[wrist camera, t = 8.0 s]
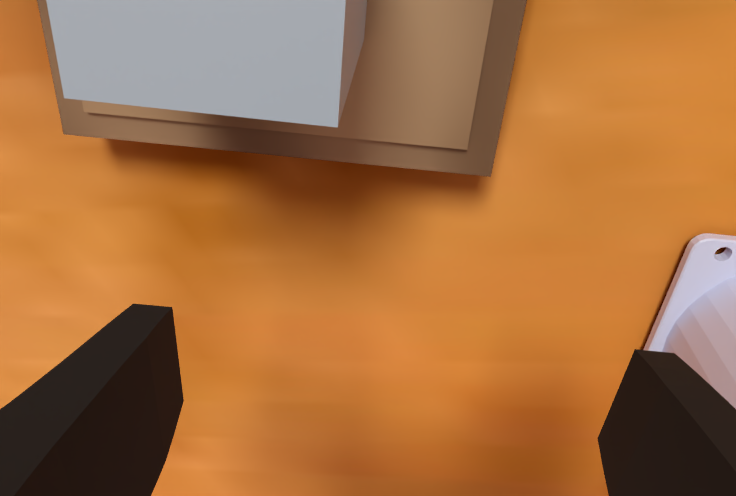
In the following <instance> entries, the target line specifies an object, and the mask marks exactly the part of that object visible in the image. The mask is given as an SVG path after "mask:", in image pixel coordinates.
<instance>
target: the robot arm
mask: <svg viewBox="0 0 736 496" xmlns="http://www.w3.org/2000/svg"><path fill="white" fill-rule="evenodd" d="M722 247H726V249H725V250H724V252H722V253H720V254H715V252H716V251H717V250H718V249H720V248H722ZM183 401H184V400H183V392H182V384H181V376H180V368H179V359H178V351H177V343H176V335H175V326H174V318H173V310H172V307H164V306H153V305H142V304H132V305H131V306H130V307H128V308H127V309H126V310H125V311H123V312H122V313H121V314H120V315H118V316H117V317H116V318H115V319H113V320H112V321H111V322H110V323H108V324H107V325H106V326H105V327H104V328H102V329H101V330H100V331H99V332H97V333H96V334H95V335H94V336H93V337H91V338H90V339H89V340H88V341H86V342H85V343H84V344H83V345H82V346H80V347H79V348H78V349H77V350H75V351H74V352H73V353H72V354H71V355H69V356H68V357H67V358H66V359H64V360H63V361H62V362H61V363H59V364H58V365H57V366H56V367H54V368H53V369H52V370H51V371H49V372H48V373H47V374H46V375H44V376H43V377H42V378H40V379H39V380H38V381H37V382H35V383H34V384H33V385H32V386H30V387H29V388H28V389H26V390H25V391H24V392H23V393H21V394H20V395H19V396H18V397H16V398H15V399H14V400H12V401H11V402H10V403H8V404H7V405H6V406H4V407H3V408H1V409H0V496H151V494H152V492H153V490H154V487H155V485H156V483H157V480H158V478H159V476H160V473H161V471H162V468H163V466H164V464H165V461H166V458H167V455H168V452H169V449H170V445H171V442H172V439H173V436H174V432H175V429H176V425H177V422H178V418H179V415H180V411H181V408H182V404H183ZM598 442H599V448H600V453H601V459H602V464H603V470H604V475H605V479H606V484H607V489H608V493H609V496H736V236H729V235H719V234H709V233H708V234H701V235H698V236H696V237H694V238H693V239H692V240H691V241H690V242H689V244H688V245H687V247H686V250H685V252H684V254H683V257H682V259H681V262H680V264H679V266H678V269H677V271H676V273H675V276H674V278H673V281H672V283H671V285H670V288H669V290H668V292H667V295H666V297H665V299H664V302H663V304H662V307H661V309H660V311H659V314H658V316H657V318H656V321H655V323H654V326H653V328H652V330H651V333H650V335H649V337H648V340H647V342H646V345H645V347H644V349H643V350H636V349H635V351H634V353H633V355H632V358H631V360H630V363H629V365H628V367H627V370H626V372H625V375H624V377H623V379H622V382H621V384H620V386H619V389H618V391H617V394H616V396H615V398H614V401H613V403H612V406H611V408H610V410H609V413H608V415H607V418H606V420H605V422H604V425H603V427H602V429H601V432H600V434H599V437H598Z"/></svg>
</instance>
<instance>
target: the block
mask: <svg viewBox="0 0 736 496" xmlns="http://www.w3.org/2000/svg"><path fill="white" fill-rule="evenodd" d="M46 2H47V7H48V13H49V18H50V24H51V29H52V35H53V40H54V45H55V51H56V56H57V62H58V67H59V73H60V78H61V84H62V89H63V95H64V98H67V99H76V100H86V101H95V102H104V103H114V104H123V105H132V106H141V107H151V108H160V109H169V110H179V111H188V112H197V113H207V114H216V115H225V116H235V117H244V118H253V119H263V120H272V121H281V122H291V123H300V124H309V125H319V126H328V127H337V128H338V125H339V122H340V118H341V115H342V112H343V108H344V105H345V101H346V98H347V95H348V91H349V88H350V85H351V81H352V78H353V75H354V71H355V68H356V65H357V61H358V58H359V55H360V51H361V48H362V45H363V41H364V33H365V21H366V8H367V0H46Z"/></svg>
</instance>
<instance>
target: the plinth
mask: <svg viewBox="0 0 736 496" xmlns="http://www.w3.org/2000/svg"><path fill="white" fill-rule="evenodd" d="M526 1H527V0H367V8H366V21H365V33H364V41H363V45H362V48H361V51H360V55H359V58H358V61H357V65H356V68H355V71H354V75H353V78H352V81H351V85H350V88H349V91H348V95H347V98H346V101H345V105H344V108H343V112H342V115H341V118H340V122H339V125H338V128H337V127H328V126H319V125H309V124H300V123H291V122H281V121H272V120H263V119H253V118H244V117H235V116H225V115H216V114H207V113H197V112H188V111H179V110H169V109H160V108H151V107H141V106H132V105H123V104H114V103H104V102H95V101H86V100H76V99H67V98H64V95H63V89H62V84H61V78H60V73H59V67H58V62H57V56H56V51H55V45H54V40H53V35H52V29H51V24H50V18H49V13H48V7H47V2H46V0H37V2H38V7H39V12H40V17H41V22H42V27H43V32H44V37H45V42H46V47H47V52H48V57H49V62H50V67H51V72H52V77H53V82H54V87H55V92H56V97H57V102H58V108H59V113H60V118H61V123H62V128H63V133H64V134H66V135H77V136H87V137H97V138H107V139H117V140H127V141H137V142H147V143H157V144H167V145H177V146H187V147H197V148H207V149H217V150H228V151H238V152H248V153H258V154H268V155H278V156H288V157H298V158H308V159H318V160H328V161H338V162H348V163H358V164H368V165H379V166H389V167H399V168H409V169H419V170H429V171H439V172H449V173H459V174H469V175H479V176H489V177H491V173H492V168H493V163H494V158H495V153H496V148H497V143H498V138H499V133H500V128H501V124H502V119H503V114H504V109H505V104H506V99H507V94H508V89H509V84H510V79H511V75H512V70H513V65H514V60H515V55H516V50H517V45H518V40H519V35H520V30H521V26H522V21H523V16H524V11H525V6H526Z"/></svg>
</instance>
